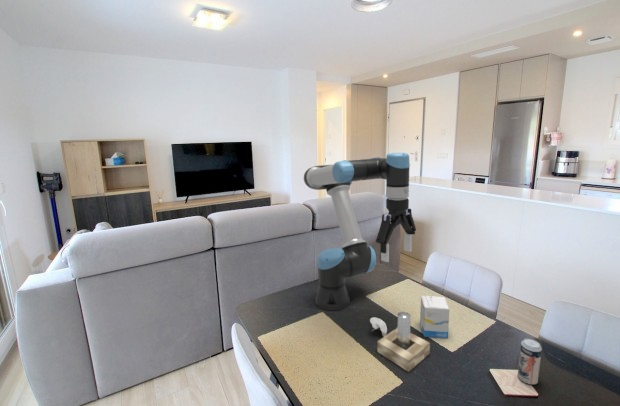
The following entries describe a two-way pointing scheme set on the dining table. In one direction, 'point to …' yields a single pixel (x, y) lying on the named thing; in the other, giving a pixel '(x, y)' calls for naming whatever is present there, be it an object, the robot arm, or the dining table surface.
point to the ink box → (434, 316)
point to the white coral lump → (379, 325)
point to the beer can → (529, 361)
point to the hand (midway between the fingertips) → (396, 255)
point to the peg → (403, 330)
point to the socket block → (401, 356)
